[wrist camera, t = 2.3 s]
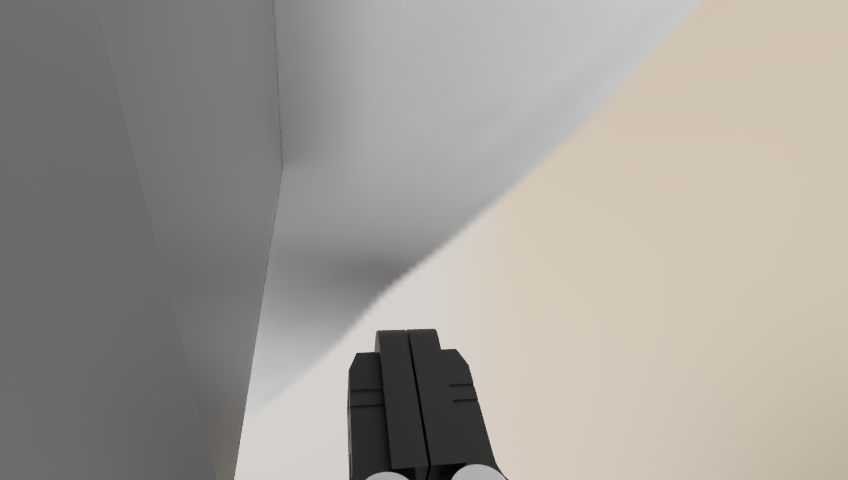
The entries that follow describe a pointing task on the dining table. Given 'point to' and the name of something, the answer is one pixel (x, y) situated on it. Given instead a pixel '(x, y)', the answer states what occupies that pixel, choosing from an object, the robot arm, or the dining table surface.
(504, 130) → the dining table surface
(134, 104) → the camera housing
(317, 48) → the dining table surface
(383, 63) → the dining table surface
